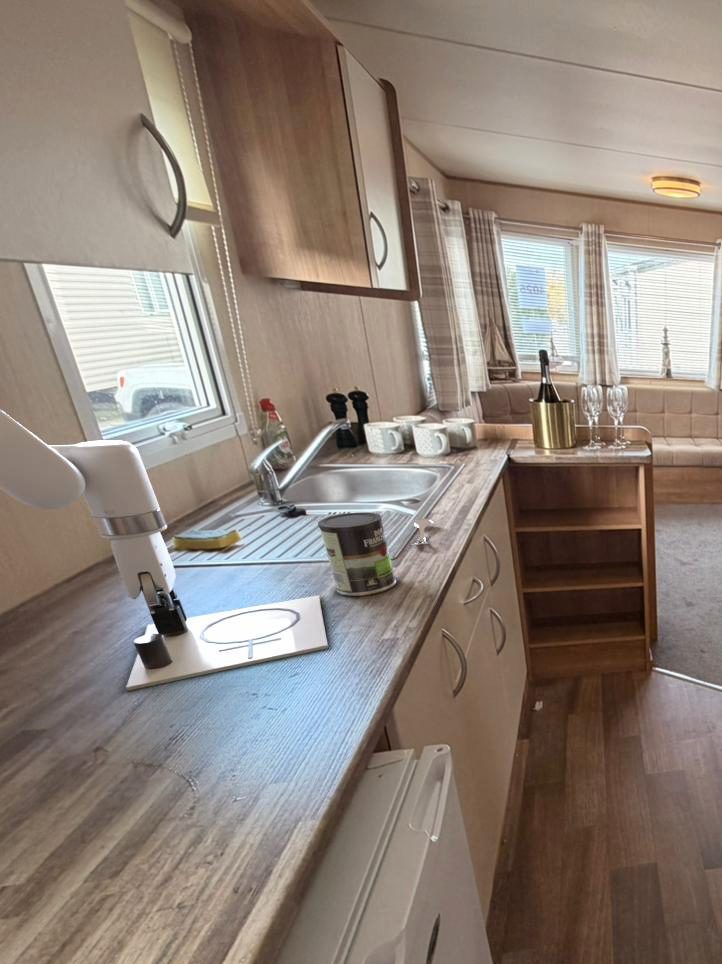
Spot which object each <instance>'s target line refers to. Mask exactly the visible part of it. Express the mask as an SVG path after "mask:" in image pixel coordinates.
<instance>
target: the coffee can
mask: <svg viewBox="0 0 722 964" xmlns="http://www.w3.org/2000/svg"><path fill="white" fill-rule="evenodd" d="M317 526H318V528H319V530H320V533H321V537H322V541H323V544H324V549H325V552H326V555H327V559H328V563H329V566H330V570H331V574H332V577H333V581H334V584H335V588H336V593H338V594H339V595H342V596H347V597H358V596H359V597H360V596H368V595H374V594H378V593H382V592H385V591H387V590H390V589H391V588H393V587H394V586H396V584H397V579H396V576H395V573H394V567H393V563H392V560H391V559H392V558H391V555H390V551H389V548H388V542H387V538H386V534H385V529H384V525H383V518H382V515H380V514H379V513H375V512H368V511H367V512H366V511H365V512H363V511H362V512H360V511H359V512H358V511H357V512H348V513H340V514H334V515H330V516H328V517H324V518H322V519H320V520H319V521H318V522H317Z"/></svg>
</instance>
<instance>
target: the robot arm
mask: <svg viewBox="0 0 722 964" xmlns="http://www.w3.org/2000/svg"><path fill="white" fill-rule="evenodd" d="M0 491H2V492H4V493H5V494H7V495H8V496H9V497H11V498H12V499H14V501H16V502H19V503H20V504H23V505H25V506H28V507H31V508H36V509H41V510H56V509H62V508H64V507H68V506H71V505H72V504H75V503H76V502H77V501H79V500H80V499H81V498H82V497H83V499H84V501H85V503H86V505H87V508H88V510H89V512H90V515H91V517H92V519H93V521H94V525H95V526H96V529H97V531H98V533H99V536H100V538H102V539H107V540H109V542H110V546H111V551H112V554H113V557H114V561H115V564H116V566H117V569H118V571H119V574H120V577H121V580H122V583H123V585H124V588H125V591H126V594H127V596H128V598H129V599H131V600H136V599H138V598H139V597H140V595H141V593H142V595H143V599H144V601H145V603H146V605H147V609H148V611H149V615H150V617H151V619H152V622H153V624H155V626H156V629H157V631H158V633H159V634H162V635H163V634H168V633H174V632H179V631H183V630H184V629H185V627H184V624H183V621H182V619H181V616H180V614H179V611H178V609H177V608H174V605H179V607H180V610H181V612H182V615H183V617H184V620H185V622H186V621H187V618H188V617H187V615H186V612H185V609H184V608H183V607H184V606H183V605H182V602H181V599H180V598H178V594H177V591H176V589H175V586H174V584H175V581H176V577H177V575H176V569H175V567H174V564H173V561H172V559H171V555H170V554H169V550H168V548H167V546H166V542H165V541H164V539H163V535H162V534H161V532H163V531H166V530H167V529H168V524H167V522H166V520H165V518H164V515H163V512H162V510H161V507H160V505H159V502H158V499H157V496H156V494H155V492H154V491H155V490H154V489H153V485H152V483H151V480H150V479H149V476H148V472H147V470H146V468H145V465H144V462H143V460H142V457H141V454H140V452H139V449H138V448H137V447H136V446H135V445H133V443H130V442H128V441H123V440H92V441H84V442H79V443H75V444H63V445H61V444H59V445H57V444H55V445H54V444H53V445H49V444H47V443H46V442H45V441H43V440H42V439H41V438H39V436H37V435H35V434H34V433H32V432H31V431H30V430H29V429H27V428H26V427H25V426H23V425H22V424H20V423H19V422H18V421H17V420H15V419H13V417H11V416H10V415H9V414H7V413H6V412H5V411H3V410H2V409H0Z"/></svg>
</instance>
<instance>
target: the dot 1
mask: <svg viewBox="0 0 722 964" xmlns="http://www.w3.org/2000/svg"><path fill="white" fill-rule="evenodd" d="M144 635H145V634H144ZM144 635H142V636H139V637H137V638H135V639H134V640H133V642H132V643H133V645H134V647H135V649H136V652H137V655H138V654H139V656H140V658H141V661H142V663H143V665H144V667H145V669H158V668H162V667H165V666H168V665H170V664H171V663H172V662H173V659H172V657H171V655H170V652H169V650H168V647H167V645H166V643H165V640H164V638H163V635H162V634H149V635H145V636H144Z"/></svg>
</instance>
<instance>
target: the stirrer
mask: <svg viewBox="0 0 722 964" xmlns="http://www.w3.org/2000/svg"><path fill="white" fill-rule="evenodd" d="M433 523H434V521H432V520H431V519H430V518H417V519H414V521H412V523H411V524H412V525H413V526H415V527H417V528H418V530H419V536H418V539H417V541H416V542H413V543H411V544H410V545H411V546H416V545H426V544H427V545H428V544H429V542H428V541H427V540H426V537H425V529H426V527H429V526H431V525H432V524H433Z"/></svg>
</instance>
